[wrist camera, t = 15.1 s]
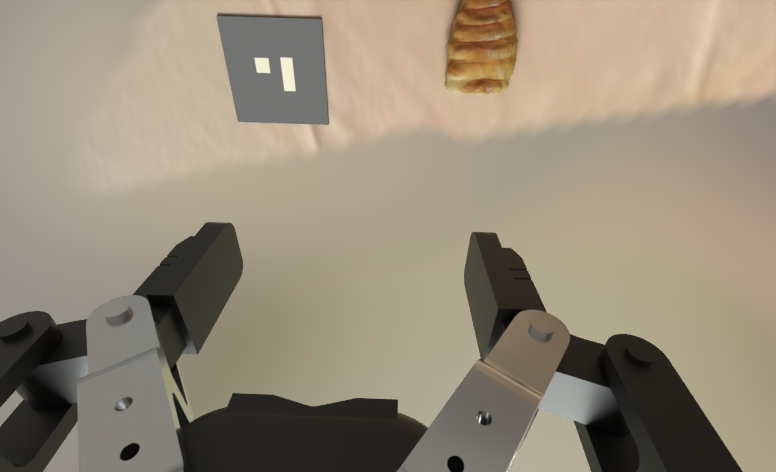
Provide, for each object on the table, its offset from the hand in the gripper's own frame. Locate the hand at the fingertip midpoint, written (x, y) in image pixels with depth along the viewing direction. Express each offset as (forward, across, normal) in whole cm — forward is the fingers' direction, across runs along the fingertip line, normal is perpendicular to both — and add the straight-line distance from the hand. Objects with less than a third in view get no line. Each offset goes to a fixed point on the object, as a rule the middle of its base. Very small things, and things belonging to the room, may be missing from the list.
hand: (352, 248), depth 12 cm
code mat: (+30, +11, 0) cm, 32 cm away
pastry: (+31, -9, -3) cm, 32 cm away
